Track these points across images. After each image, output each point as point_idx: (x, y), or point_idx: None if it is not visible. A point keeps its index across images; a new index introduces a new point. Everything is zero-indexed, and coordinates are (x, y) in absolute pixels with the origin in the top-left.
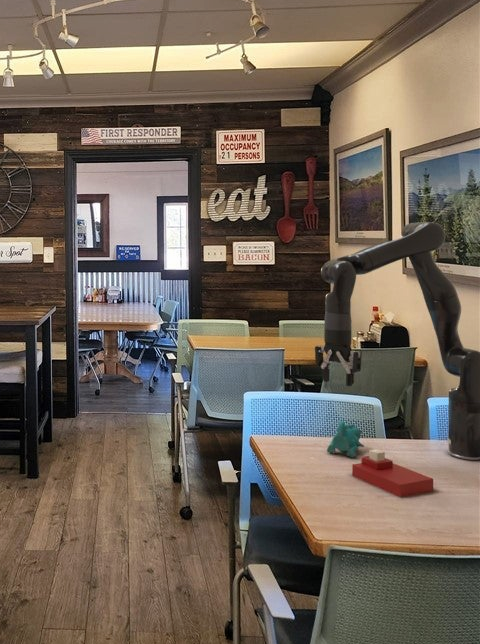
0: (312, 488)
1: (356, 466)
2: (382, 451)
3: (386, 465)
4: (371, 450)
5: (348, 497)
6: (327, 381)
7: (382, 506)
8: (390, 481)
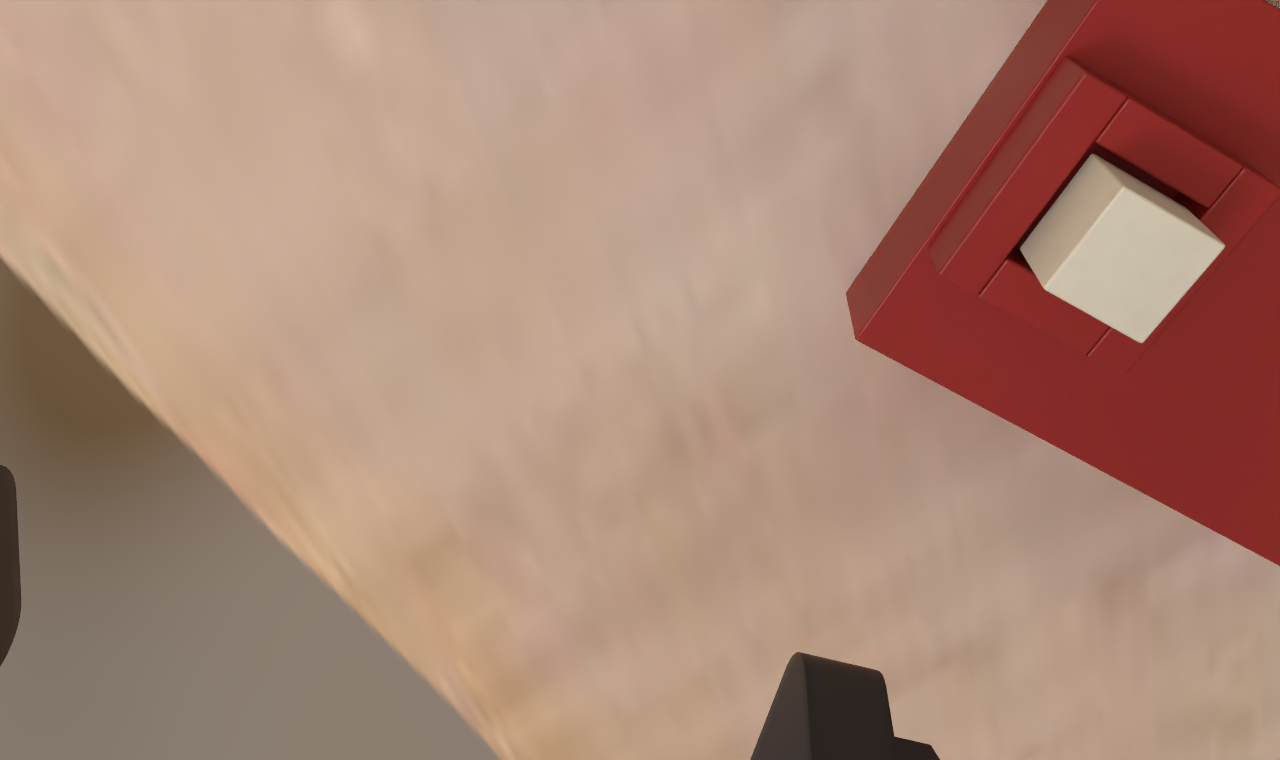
0: (668, 701)
1: (901, 362)
2: (1198, 235)
3: None
4: (1068, 283)
5: (919, 711)
6: (12, 536)
7: (1149, 726)
8: (1231, 539)
